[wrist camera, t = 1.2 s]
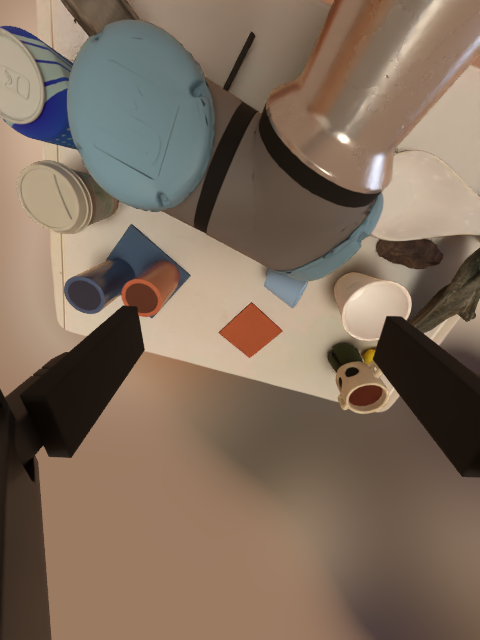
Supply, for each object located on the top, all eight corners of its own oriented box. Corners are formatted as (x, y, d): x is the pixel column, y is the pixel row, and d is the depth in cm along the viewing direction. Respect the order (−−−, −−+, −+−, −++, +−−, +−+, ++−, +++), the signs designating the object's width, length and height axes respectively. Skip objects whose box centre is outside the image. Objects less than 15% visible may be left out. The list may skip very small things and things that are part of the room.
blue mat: (131, 224, 43) (130, 224, 42) (190, 275, 47) (190, 276, 46) (96, 274, 47) (95, 275, 47) (152, 317, 51) (151, 318, 51)
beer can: (96, 166, 39) (9, 152, 25) (59, 104, 36) (-68, 46, 21) (140, 139, 37) (72, 106, 23) (105, 71, 34) (-1, -17, 20)
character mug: (344, 327, 50) (372, 368, 39) (372, 341, 51) (407, 384, 40) (313, 365, 55) (330, 412, 43) (340, 377, 56) (363, 425, 44)
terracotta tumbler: (160, 253, 45) (135, 270, 35) (187, 276, 46) (169, 298, 36) (142, 276, 47) (113, 298, 37) (168, 297, 48) (147, 324, 39)
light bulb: (366, 350, 50) (372, 368, 49) (393, 343, 51) (399, 360, 50) (357, 352, 53) (363, 368, 53) (383, 345, 54) (389, 361, 53)
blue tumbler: (113, 251, 45) (75, 267, 35) (141, 273, 46) (112, 295, 37) (97, 274, 47) (56, 296, 37) (124, 295, 49) (92, 321, 39)
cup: (312, 283, 46) (329, 307, 37) (362, 249, 43) (395, 266, 33) (338, 320, 50) (360, 351, 40) (386, 292, 47) (422, 318, 37)
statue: (394, 373, 47) (569, 224, 25) (371, 349, 51) (508, 199, 29) (426, 357, 51) (601, 216, 29) (402, 336, 55) (544, 194, 33)
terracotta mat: (251, 302, 49) (251, 303, 48) (282, 330, 51) (282, 331, 51) (219, 332, 52) (218, 333, 52) (249, 357, 55) (249, 358, 54)
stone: (382, 227, 42) (368, 256, 44) (388, 229, 40) (373, 259, 42) (445, 243, 42) (428, 271, 44) (454, 246, 40) (435, 275, 42)
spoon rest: (338, 226, 42) (354, 233, 35) (371, 143, 36) (397, 133, 30) (466, 260, 43) (503, 272, 37) (516, 186, 38) (570, 185, 32)
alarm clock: (175, 72, 34) (118, -18, 19) (148, 104, 35) (78, 44, 21) (111, -23, 30) (-20, -222, 15) (84, 18, 32) (-55, -127, 17)
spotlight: (303, 269, 45) (268, 255, 44) (317, 287, 36) (273, 271, 35) (292, 292, 47) (258, 280, 47) (301, 316, 39) (260, 301, 38)
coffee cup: (120, 233, 44) (78, 247, 33) (71, 211, 42) (10, 217, 32) (132, 183, 40) (89, 180, 29) (78, 157, 39) (12, 143, 28)
